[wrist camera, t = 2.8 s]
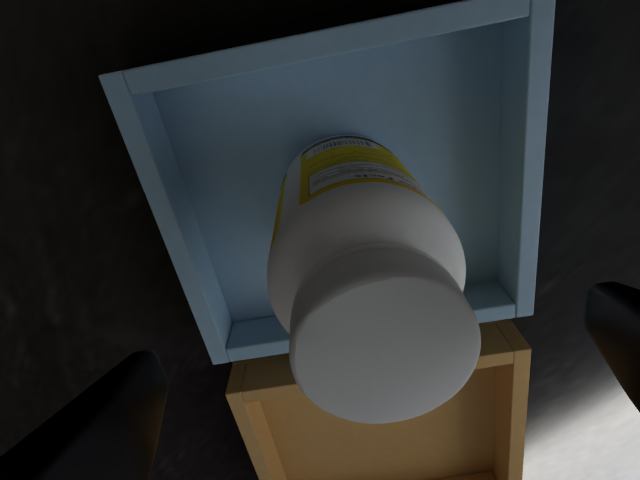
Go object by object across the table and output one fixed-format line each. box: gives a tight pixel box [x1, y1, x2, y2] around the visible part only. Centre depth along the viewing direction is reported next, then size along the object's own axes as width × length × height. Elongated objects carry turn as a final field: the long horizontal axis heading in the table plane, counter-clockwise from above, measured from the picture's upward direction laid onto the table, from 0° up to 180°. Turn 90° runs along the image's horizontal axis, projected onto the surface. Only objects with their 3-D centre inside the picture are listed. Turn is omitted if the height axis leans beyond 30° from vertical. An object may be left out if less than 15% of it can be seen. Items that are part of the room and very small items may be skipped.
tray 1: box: [99, 0, 556, 365], centre depth 16 cm, size 15×13×2 cm
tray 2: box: [225, 319, 531, 480], centre depth 22 cm, size 15×13×2 cm
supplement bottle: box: [267, 134, 481, 424], centre depth 12 cm, size 5×5×10 cm
